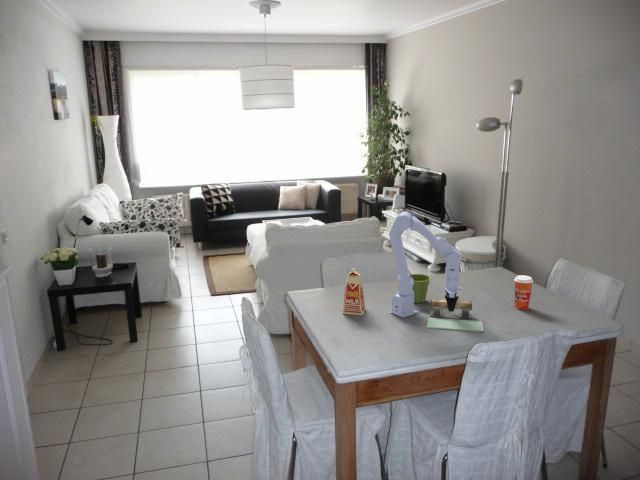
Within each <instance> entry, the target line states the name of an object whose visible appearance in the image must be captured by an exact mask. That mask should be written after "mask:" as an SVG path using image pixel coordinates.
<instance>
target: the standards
mask: <svg viewBox="0 0 640 480" xmlns="http://www.w3.org/2000/svg"><path fill="white" fill-rule="evenodd" d="M470 311H471V310H470V307H462V310H461V312H459V313H458V319H460V320H472V313H470ZM429 316H430V317H429V318H443V311H441V308H440V306H438V305H433V308H432V310H430V315H429Z"/></svg>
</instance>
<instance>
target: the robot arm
mask: <svg viewBox="0 0 640 480" xmlns="http://www.w3.org/2000/svg"><path fill="white" fill-rule="evenodd" d="M408 229H409V231H410V232H411V231H412V232H413V231H415V232H417V233H419V234H420V235H421V236H422V237H423V238H425V239H426V240H427V241H429V242H430V243H431V248H432V249H433V250H434V251H436V253H438V254H439V255H440V256H441V257H443V258H444V259H445V262H446V263H445V265H446V266H445V271H444V272H445V274H444V278H445V279H444V280H445V281H444V288H443V289H444V291H445V293H446V294H444V300H446V301H447V305H448V309H447V311H448V312H449V313H450V312H452V313H454V311H455V310H456V309H455V305H456V302H457V301H459V299H460V297H459V296H458V295H457V294H458V292H459V291H462V289H463V287H461V286H460V263H461V253H460V251H459V250H458V248H455V246H452V245H451V244H449V242H448V241H447V239H446V238H445V237H442V236H436V235H435V233H433V232H432V231H431V230H430V229H429V228H428V227H427V226H426V225H425V224H423V222H422V221H421V220H419V219H418V218H417V216H415V215H413V214H412V213H411V212H410V211H407V210H406V211H401V212H399V214H398V215H397V216H396V218H395V220H394V221H393V223H392V225H391V228H390V230H389V233H388V237H389V241H390V245H391V250H392V255H393V257H394V258H393V259H394V263H395V268H396V273H397V282H398V285H397V292H396V294H395V295H393V297H392V299H391V310H390V313H391V314H394V315H395V316H398V317H401V318H406V317H409V316H413V315H415V314H417V313H419V311H418V310H415V302H414V291H413V285H414V279H413V278H412V277H411V275H410V274H411V272H410V270H409V267H408V263H407V258H406V253H405V248H404V244H403V239H402V235H403V233H404V232H405V231H407V230H408Z"/></svg>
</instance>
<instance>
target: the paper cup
mask: <svg viewBox="0 0 640 480" xmlns="http://www.w3.org/2000/svg"><path fill="white" fill-rule="evenodd" d="M513 280H514V308H515V309H516V308H517V310H520V311H527V310H528V309H529V307H530V301H531V293H532V287H533V283H534V280H533V278H532V277H531V276H529V275H523V274H521V275H516V276H515V278H514V279H513Z"/></svg>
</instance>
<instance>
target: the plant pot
mask: <svg viewBox="0 0 640 480" xmlns="http://www.w3.org/2000/svg"><path fill="white" fill-rule="evenodd" d="M410 275H411V277H412V278H413V279H414V285H413V291H414V304H416V303H417V304H419V303H425V302H426V299H427V296H428V295H427V293H428V289H429V284H430V282H431V281H430V280H432V277H431V275H428V274H423V273H410Z"/></svg>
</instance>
